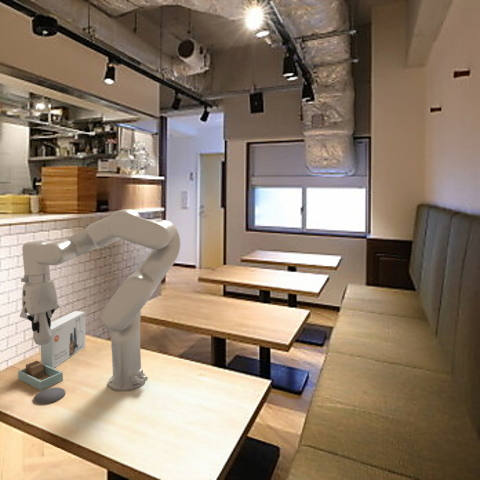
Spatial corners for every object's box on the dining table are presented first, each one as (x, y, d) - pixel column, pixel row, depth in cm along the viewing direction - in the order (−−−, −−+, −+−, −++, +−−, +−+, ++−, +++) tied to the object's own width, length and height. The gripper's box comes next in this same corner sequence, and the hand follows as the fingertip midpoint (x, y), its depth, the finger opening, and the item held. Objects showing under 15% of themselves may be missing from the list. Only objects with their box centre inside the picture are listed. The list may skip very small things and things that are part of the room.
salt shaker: (38, 339, 133) (35, 303, 131) (54, 338, 133) (52, 303, 131) (30, 346, 127) (27, 309, 125) (47, 345, 127) (44, 308, 125)
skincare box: (53, 370, 141) (50, 329, 138) (40, 368, 142) (37, 328, 140) (87, 346, 161) (85, 311, 159) (75, 345, 162) (73, 310, 160)
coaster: (70, 394, 124) (70, 392, 124) (44, 407, 117) (44, 405, 117) (54, 386, 129) (54, 384, 129) (28, 398, 121) (28, 397, 121)
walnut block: (43, 376, 136) (42, 363, 135) (32, 381, 133) (31, 367, 132) (37, 373, 138) (36, 360, 137) (26, 378, 135) (25, 364, 134)
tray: (63, 380, 133) (62, 372, 133) (40, 390, 126) (40, 382, 126) (40, 370, 140) (40, 362, 140) (18, 379, 134) (18, 371, 133)
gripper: (18, 285, 118) (23, 341, 120) (66, 275, 132) (70, 325, 134) (6, 282, 122) (11, 336, 124) (54, 272, 136) (57, 321, 138)
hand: (41, 330), depth 129 cm, fingers closed on salt shaker, 3 cm apart
